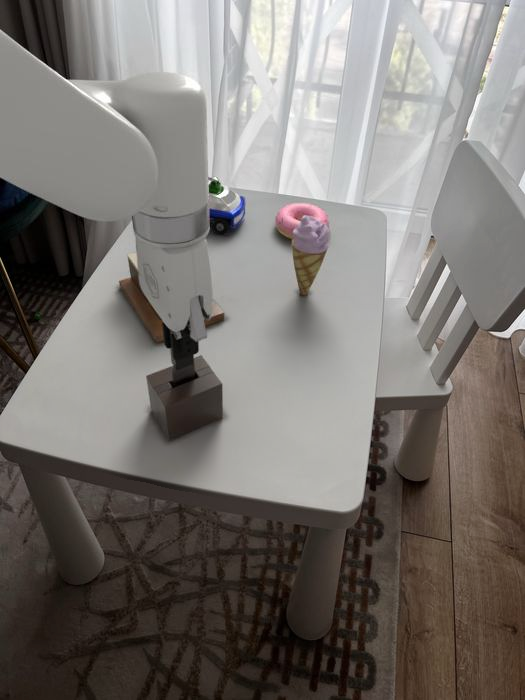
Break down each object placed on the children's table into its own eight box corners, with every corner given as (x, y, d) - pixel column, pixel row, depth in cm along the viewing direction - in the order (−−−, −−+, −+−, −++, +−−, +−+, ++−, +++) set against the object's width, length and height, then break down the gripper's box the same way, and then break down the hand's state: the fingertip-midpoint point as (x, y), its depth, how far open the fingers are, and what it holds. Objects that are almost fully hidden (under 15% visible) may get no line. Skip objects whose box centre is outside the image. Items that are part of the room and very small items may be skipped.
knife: (179, 422, 73) (169, 323, 60) (174, 414, 73) (163, 314, 61) (199, 413, 74) (193, 314, 61) (194, 405, 75) (187, 306, 62)
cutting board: (156, 343, 83) (155, 336, 82) (119, 287, 93) (118, 280, 92) (224, 319, 88) (224, 312, 87) (182, 268, 98) (182, 262, 97)
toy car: (195, 205, 114) (193, 163, 108) (249, 215, 112) (250, 172, 106) (179, 227, 108) (176, 183, 101) (236, 238, 106) (237, 194, 99)
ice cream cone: (284, 280, 97) (291, 205, 86) (318, 279, 97) (329, 205, 87) (288, 303, 92) (296, 227, 81) (324, 303, 92) (336, 227, 82)
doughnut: (318, 250, 104) (321, 231, 101) (266, 236, 107) (267, 218, 104) (334, 223, 111) (337, 205, 109) (285, 211, 114) (286, 193, 111)
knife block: (169, 441, 70) (165, 407, 65) (151, 410, 74) (145, 375, 69) (222, 417, 73) (222, 383, 69) (203, 389, 77) (201, 354, 72)
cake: (146, 301, 88) (143, 277, 85) (130, 279, 92) (127, 254, 89) (190, 287, 91) (189, 263, 88) (173, 266, 95) (171, 242, 92)
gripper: (105, 188, 55) (128, 321, 68) (168, 267, 46) (181, 404, 59) (172, 173, 58) (182, 304, 71) (244, 245, 49) (240, 380, 62)
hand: (181, 349), depth 65 cm, fingers closed on knife, 1 cm apart
